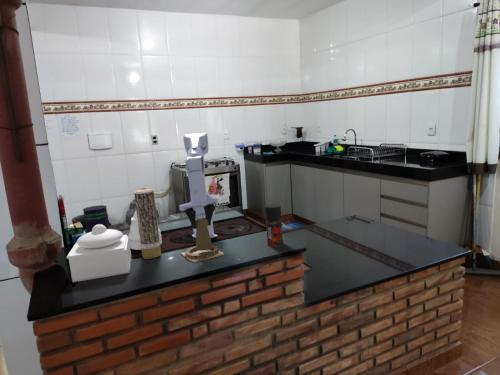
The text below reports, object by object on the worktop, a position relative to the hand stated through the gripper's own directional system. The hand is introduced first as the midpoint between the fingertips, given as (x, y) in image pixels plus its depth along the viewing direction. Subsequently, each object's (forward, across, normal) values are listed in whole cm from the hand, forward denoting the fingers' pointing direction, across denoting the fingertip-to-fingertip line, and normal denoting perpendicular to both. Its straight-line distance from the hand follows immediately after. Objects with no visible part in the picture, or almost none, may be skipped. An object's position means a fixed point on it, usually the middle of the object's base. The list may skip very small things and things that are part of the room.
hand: (201, 226), depth 132 cm
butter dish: (+11, -33, +13) cm, 37 cm away
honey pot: (+11, -13, +29) cm, 34 cm away
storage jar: (+11, -27, +53) cm, 60 cm away
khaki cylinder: (+8, 0, 0) cm, 8 cm away
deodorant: (+11, +25, -10) cm, 29 cm away
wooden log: (+11, -16, +12) cm, 22 cm away
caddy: (+10, -1, 0) cm, 10 cm away
